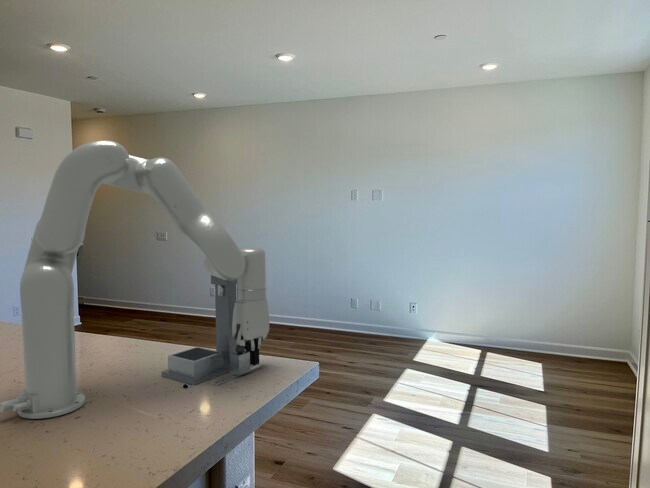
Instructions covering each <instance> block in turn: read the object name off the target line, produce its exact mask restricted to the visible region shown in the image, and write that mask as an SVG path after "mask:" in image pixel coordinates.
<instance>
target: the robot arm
mask: <svg viewBox="0 0 650 488" xmlns="http://www.w3.org/2000/svg"><path fill="white" fill-rule="evenodd" d="M56 168H57V169H56V171H54V176H53V178H52V181H51V182H50V188H49V190H48V193H47V196H46V199H45V202H44V207H43V210H42V213H41V215H40V218H39V219H38V221H37V223H36V225H35V229H34V233H33V235H32V239H31V243H30V247H29V249H28V254H27V258H26V261H25V265H24V268H23V271H22V275H21V277H20V282H19V297H20V299H19V300H20V310H21V326H22V327H21V328H22V329H21V330H22V345H23V347H22V348H23V365H24V366H23V367H24V368H23V369H24V388H25V389H23V390H20V391H19V395H17V396H15V398H14V399H8V400H5V401H2V402H0V413H5V412H8V411H10V410H11V411H12V412H17V415H18V416H19V417H20V418H24V419H27V420H28V419H31V420H36V419H37V420H39V419H49V418H56V417H59V416H63V415H66V414H69V413H71V412H74V411H76V410H79V409H80V408H81V407H83V405H84V404H85V403H86V396H85V394H84V393H82V392H78V386H77V383H78V382H77V359H76V356H77V355H76V335H75V334H76V333H75V311H74V310H75V308H74V306H75V305H74V304H75V288H74V287H75V285H74V279H73V276H72V274H73V270H74V266H75V262H76V258H77V255H78V253H79V249H80V247H81V245H83V242H84V239H85V235H86V227H87V224H88V218H89V215H90V211H91V208H92V205H93V202H94V199H95V197H96V196H95V195H96V193H97V191H98V189H99V187H100V186H101V185H102V184H103V185H109V186H112V187H116V188H119V189H120V188H121V189H123V190H124V189H125V190H128V191H132V192H137V193H141V194H146V195H147V194H148V195H151V196H152V197H153V198H154V199H155V201H156V202H157V204H158V205H159V207H160V208H161V210H163V212H164V214H165V215H166V216H167V218H168V219H169V220H170V222H171V224H172V225H173V227H175V228H176V230H178V231H179V232H180V233H181V234H183V235H184V236H185V237H186V238H189V240H191V241H192V242H194V244H195V245H196V246H197V247H198V248H199V250H201V252H202V253H203V255H204V258H203V268H204V269H205V271H206V273H208V274H209V275H210V276H211V275H212V276H214V277H217V278H221V279H223V280H227V281H232V280H236V279H237V284H236V302H235V305H234V310H233V322H232V336H233V338H234V339H237V345H238V346H242V345H243V346H244V347H245V351H248V352H250V366H253V367H254V366H256V365H260V349H261V347H262V342H263V341H264V340H266V338H267V337H268V333H269V332H270V313H269V305H268V301H267V287H266V286H267V285H266V281H267V280H266V252H265V250H264V249H263V248H260V247H243V248H239V247H238V246H237V244H236V242H235V241H234V240H233V238H232V237H231V235H230V234H229V232H228V231H227V230H226V229H225V228H224V227H223V226H222V225H221V223H220V222H219V221H218V220H217V219H216V218H215V216H214V215H213V214H212V213H211V212H210V211H209V210H208V209H207V208H206V207H205V205H204V204H203V203H202V201H201V200H200V198H199V196H198V195H197V193H196V192H195V191H194V189H193V188H192V187H191V185H190V184H189V182H188V181H187V179H186V178H185V176H184V175H183V173H182V172H181V170H180V169H179V168H178V166H177V165H176V164H175V163H174V162H173V161H172V159H169V158H167V157H162V156H161V157H154V158H151V159H147V158H142V157H140V156H139V157H138V156H136V155H132V154H129V153H128V151H127V149H126V147H124V146H123V145H122V144H120V143H118V142H117V141H113V140H108V139H107V140H106V139H105V140H104V139H103V140H96V141H95V140H94V141H90V142H87V143H84V144H82V145H80V146H77V147H76V148H74V149H73V150H71V151H70V152H69V153H68V154H67V155H66V156H65V157H64V158H63V159H62V161H61V162H60V163H59V165H58V166H57V167H56Z"/></svg>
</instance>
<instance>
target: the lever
mask: <svg viewBox="0 0 650 488" xmlns="http://www.w3.org/2000/svg"><path fill="white" fill-rule="evenodd" d="M235 351H236V352H234V353H231V354H230V365H231V371H230V374H231V375H234V374H236V375H241V374H243V375H245V374H247V373H246V372H248V373H250V372H251V371H250V368H251V365H250V352H248V351H246V350H245V347H244V346H243V345H242V346H238V345H237V346H236V348H235ZM249 371H250V372H249ZM244 373H245V374H244ZM241 376H242V375H241Z"/></svg>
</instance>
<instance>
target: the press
mask: <svg viewBox="0 0 650 488" xmlns="http://www.w3.org/2000/svg"><path fill="white" fill-rule="evenodd" d="M210 285H214V294H215V295H214V297H215V298H214V299H215V301H214V302H215V305H214V306H215V347H216V348H215V349H210V348H205V347H201V346H195V347H191V348H189V349H185V350H182V351H178V352H176V353H173V354H169V355H167V365H168V366H167V369H165V370H163V371H161V377H163V378H167V379H169V380H170V379H171V380H174V381H177V382H182V383H185V384H188V385H192V386H196V385H198V384H200V383H203V382H206V381H208V380H212V379H214V378H216V377H218V376H219V377H220V376H221V375H224V374H228V373H229V372H230V373H231V365H230V354H231V353H234V352H236V351H235V348H236V346H237V339H234V338H233V336H232V322H233V310H234V305H235V302H236V301H237V279H236V280H232V281H227V280H223V279H221V278H217V277H214V276H212V275H210ZM261 367H262V365H260V364H257V365H255V366H254V365H253V366H250V371H249V372H246V373H244V374H241V375H236V374H231V375H229V376H227V377H224V378H222V379H221V378H220V379H219V380H217V381H213V385H215V386H218V385H220V384H223V383H225V382H228V381H230V380H234V379H236V378H238V377H241V376H243V375H246V374H247V373H250V372H253V371H255V370H258V369H260V368H261Z"/></svg>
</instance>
